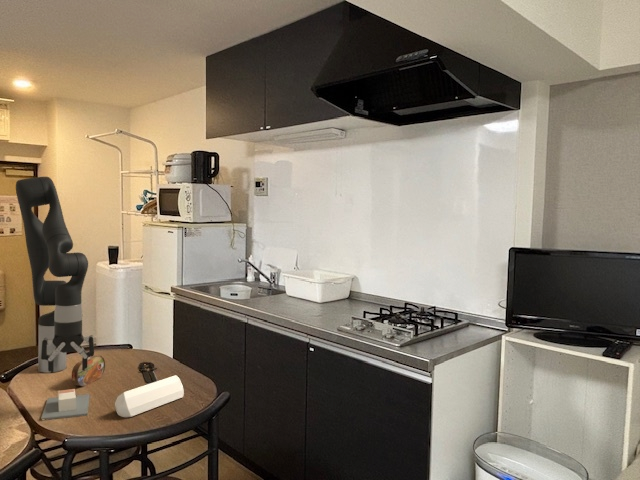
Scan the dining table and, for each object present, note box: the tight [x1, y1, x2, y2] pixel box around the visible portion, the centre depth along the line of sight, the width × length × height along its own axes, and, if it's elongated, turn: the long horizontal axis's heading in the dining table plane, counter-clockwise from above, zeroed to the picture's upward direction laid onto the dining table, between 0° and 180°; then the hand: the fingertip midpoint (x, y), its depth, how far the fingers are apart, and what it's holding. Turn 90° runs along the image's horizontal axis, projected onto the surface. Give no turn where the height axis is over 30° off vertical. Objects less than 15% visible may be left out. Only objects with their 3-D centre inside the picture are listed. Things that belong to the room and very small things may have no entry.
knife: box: [138, 361, 159, 384], centre depth 183 cm, size 25×6×1 cm, turn 20°
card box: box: [57, 388, 76, 412], centre depth 151 cm, size 4×8×4 cm, turn 29°
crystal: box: [114, 374, 185, 418], centre depth 156 cm, size 7×7×24 cm
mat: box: [40, 393, 91, 420], centre depth 151 cm, size 16×12×1 cm
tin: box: [71, 355, 106, 387], centre depth 173 cm, size 15×3×8 cm, turn 168°
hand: (68, 371), depth 151 cm, fingers open, 8 cm apart
